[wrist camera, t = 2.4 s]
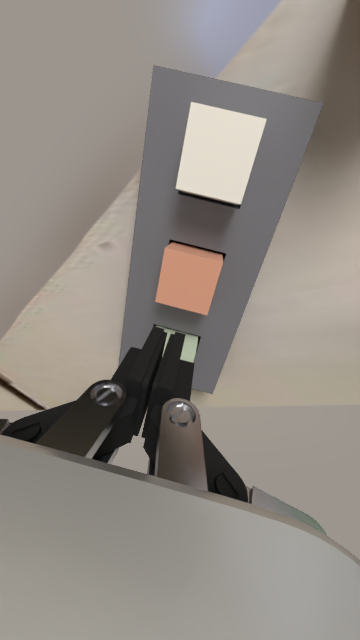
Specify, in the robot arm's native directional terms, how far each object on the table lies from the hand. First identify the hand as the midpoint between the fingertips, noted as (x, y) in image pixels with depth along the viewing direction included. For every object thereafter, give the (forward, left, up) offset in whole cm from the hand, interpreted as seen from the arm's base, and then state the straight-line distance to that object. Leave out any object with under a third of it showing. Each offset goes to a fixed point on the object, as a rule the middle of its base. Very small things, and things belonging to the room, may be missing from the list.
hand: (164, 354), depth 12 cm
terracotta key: (0, 0, -17) cm, 17 cm away
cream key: (0, -10, -17) cm, 20 cm away
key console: (0, 0, -20) cm, 20 cm away
